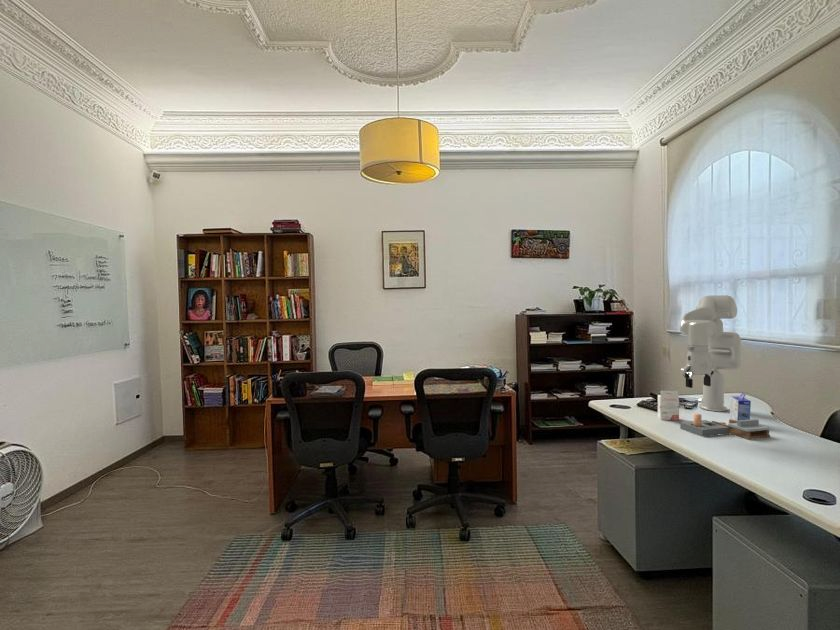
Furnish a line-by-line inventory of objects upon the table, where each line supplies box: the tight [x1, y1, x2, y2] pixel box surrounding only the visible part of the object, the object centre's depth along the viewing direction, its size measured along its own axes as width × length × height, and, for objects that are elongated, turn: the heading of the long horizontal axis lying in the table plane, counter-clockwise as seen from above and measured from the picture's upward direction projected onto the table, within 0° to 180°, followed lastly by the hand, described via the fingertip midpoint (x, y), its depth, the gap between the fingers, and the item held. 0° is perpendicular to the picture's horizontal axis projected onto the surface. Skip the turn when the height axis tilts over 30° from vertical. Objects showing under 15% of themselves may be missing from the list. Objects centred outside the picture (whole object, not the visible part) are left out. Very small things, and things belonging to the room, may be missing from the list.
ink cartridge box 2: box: [729, 392, 752, 421], centre depth 207 cm, size 10×6×14 cm, turn 163°
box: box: [711, 418, 771, 440], centre depth 194 cm, size 18×12×3 cm, turn 12°
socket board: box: [679, 419, 730, 437], centre depth 196 cm, size 12×14×3 cm
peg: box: [693, 413, 702, 427], centre depth 195 cm, size 3×3×8 cm
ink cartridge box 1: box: [657, 390, 680, 421], centre depth 216 cm, size 9×5×15 cm, turn 76°
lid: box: [727, 418, 769, 432], centre depth 190 cm, size 9×11×3 cm
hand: (698, 386), depth 195 cm, fingers open, 9 cm apart
